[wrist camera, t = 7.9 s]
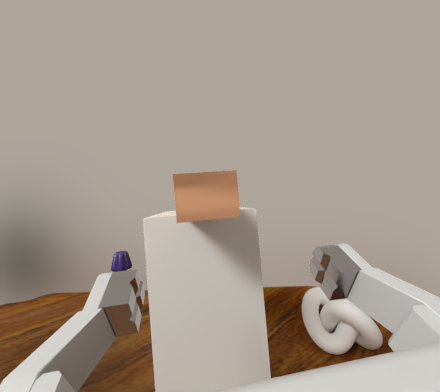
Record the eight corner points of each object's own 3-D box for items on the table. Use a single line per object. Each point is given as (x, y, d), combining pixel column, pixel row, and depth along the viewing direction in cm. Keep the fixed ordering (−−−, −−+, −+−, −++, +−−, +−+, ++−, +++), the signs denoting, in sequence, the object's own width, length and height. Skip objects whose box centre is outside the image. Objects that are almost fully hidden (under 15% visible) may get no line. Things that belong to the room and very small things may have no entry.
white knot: (310, 316, 45) (306, 275, 46) (377, 329, 39) (372, 282, 40) (301, 350, 36) (296, 298, 36) (388, 375, 30) (382, 312, 30)
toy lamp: (139, 315, 52) (135, 249, 52) (125, 327, 47) (120, 254, 48) (125, 313, 53) (120, 249, 54) (109, 324, 49) (105, 254, 49)
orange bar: (240, 216, 13) (236, 170, 13) (176, 223, 12) (172, 174, 13) (209, 208, 35) (208, 191, 35) (186, 210, 34) (184, 193, 34)
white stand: (277, 451, 22) (255, 208, 22) (162, 482, 20) (142, 218, 21) (236, 333, 42) (225, 206, 42) (176, 344, 40) (166, 211, 41)
